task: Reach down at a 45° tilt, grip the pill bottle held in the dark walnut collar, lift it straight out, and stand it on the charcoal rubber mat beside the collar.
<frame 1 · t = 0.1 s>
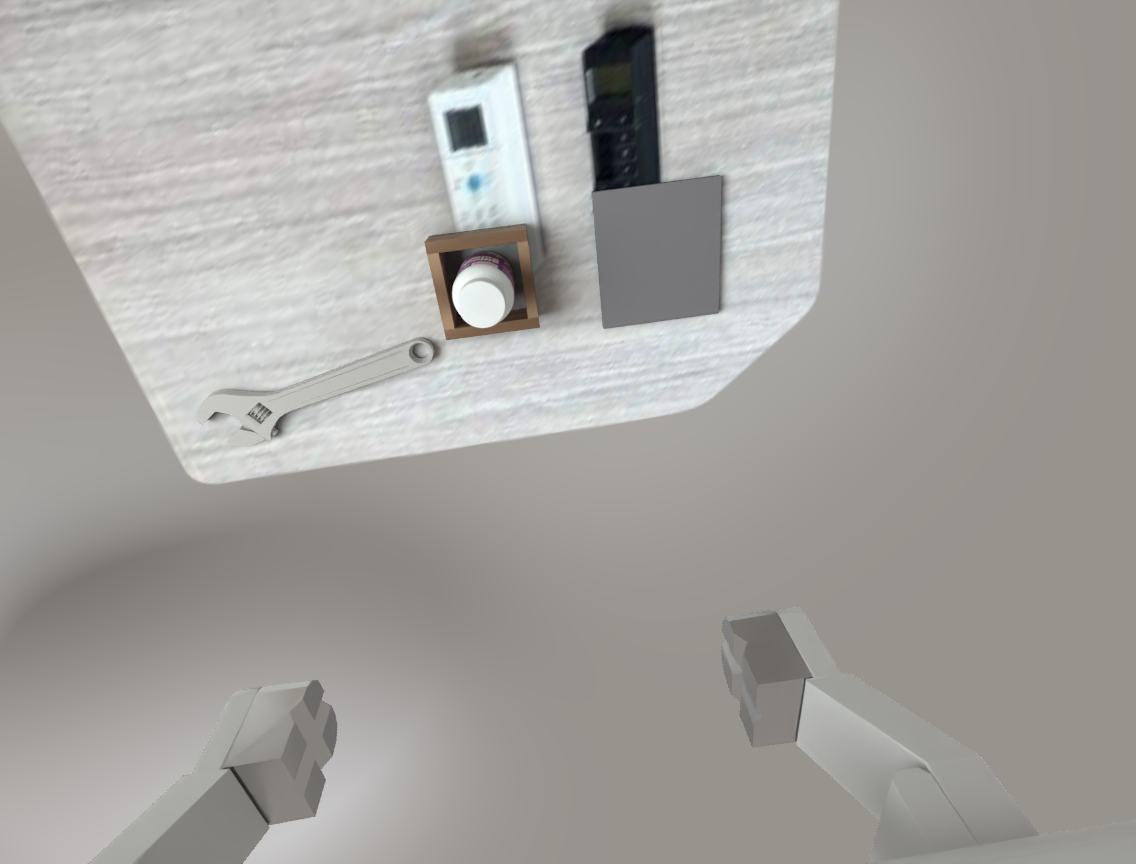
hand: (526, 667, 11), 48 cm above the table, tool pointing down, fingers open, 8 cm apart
charcoal mat: (658, 255, 55), on the table
pill bottle: (486, 277, 55), resting in walnut collar
walnut collar: (486, 278, 55), on the table
adjustable wrench: (323, 390, 59), on the table
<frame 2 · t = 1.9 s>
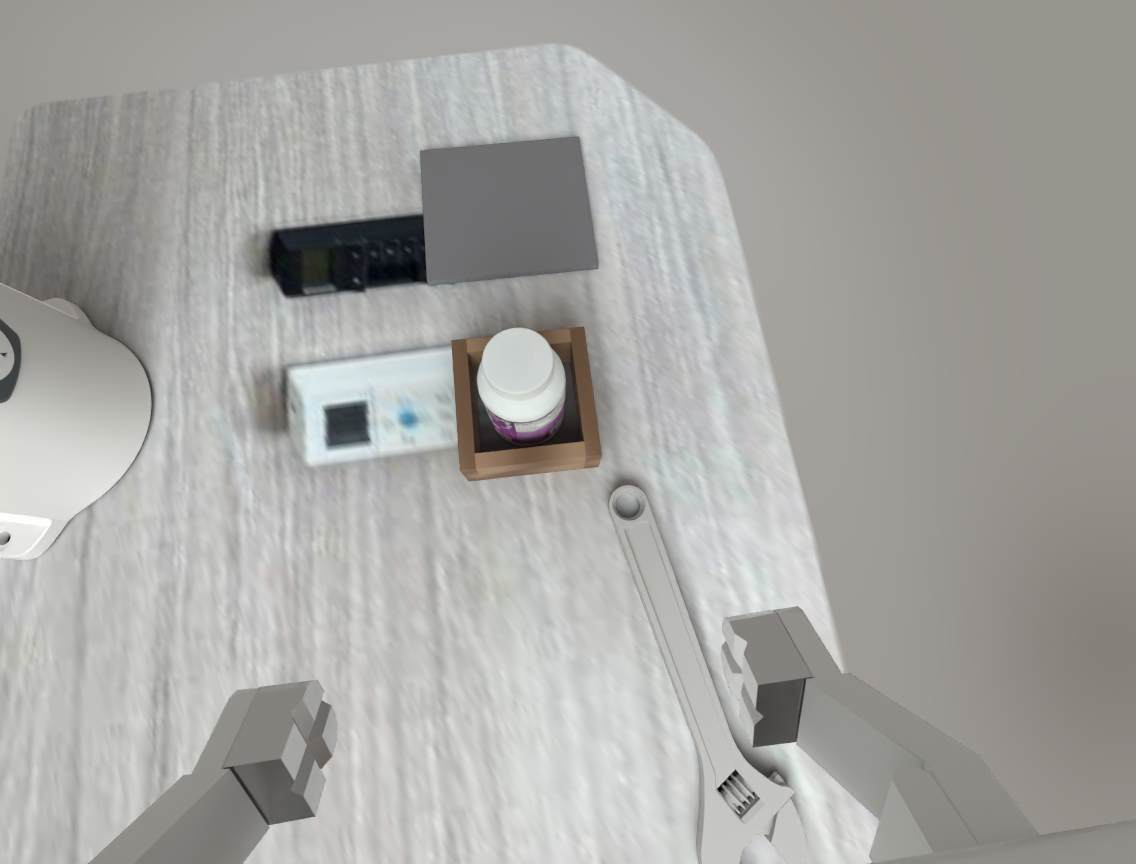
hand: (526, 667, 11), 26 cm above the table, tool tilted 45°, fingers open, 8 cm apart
charcoal mat: (507, 210, 45), on the table
pill bottle: (527, 413, 40), resting in walnut collar
walnut collar: (527, 412, 40), on the table
adjustable wrench: (697, 675, 36), on the table
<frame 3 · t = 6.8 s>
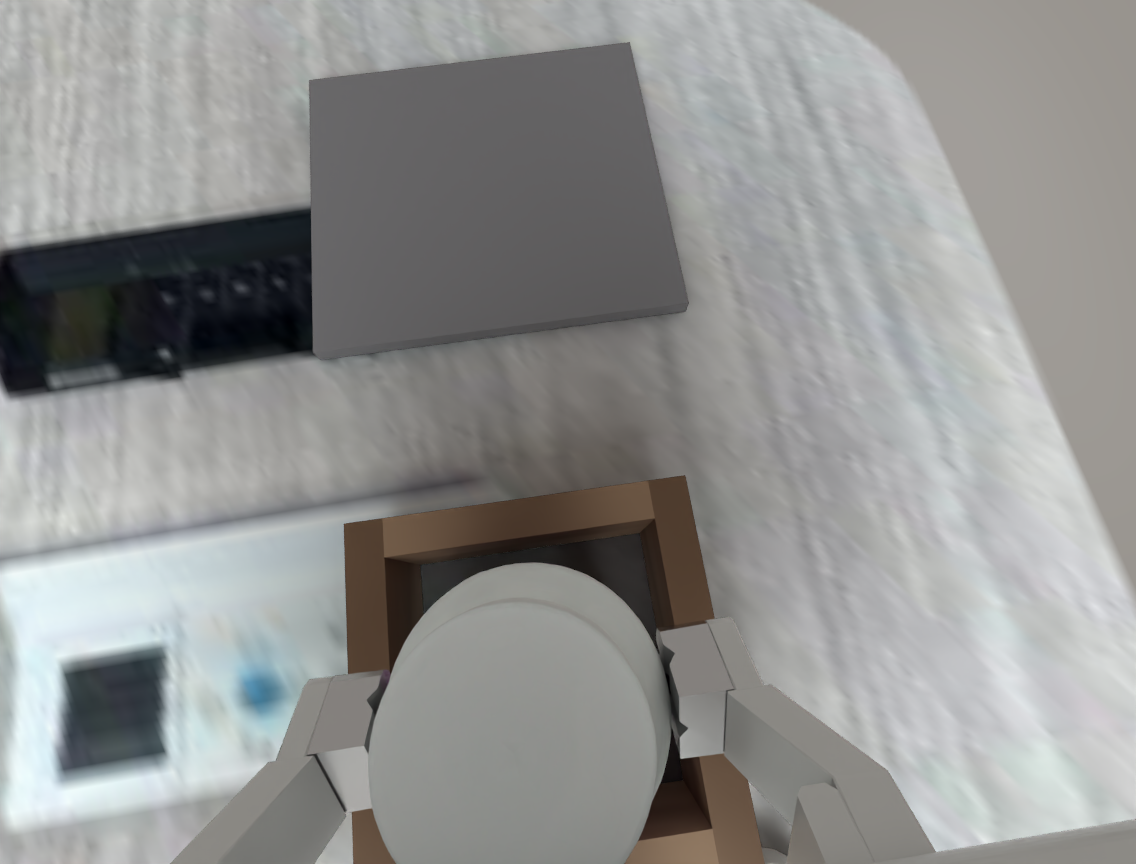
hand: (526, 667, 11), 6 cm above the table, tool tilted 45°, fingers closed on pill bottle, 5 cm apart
charcoal mat: (487, 194, 22), on the table
pill bottle: (545, 665, 17), resting in walnut collar, touching gripper
walnut collar: (544, 666, 17), on the table
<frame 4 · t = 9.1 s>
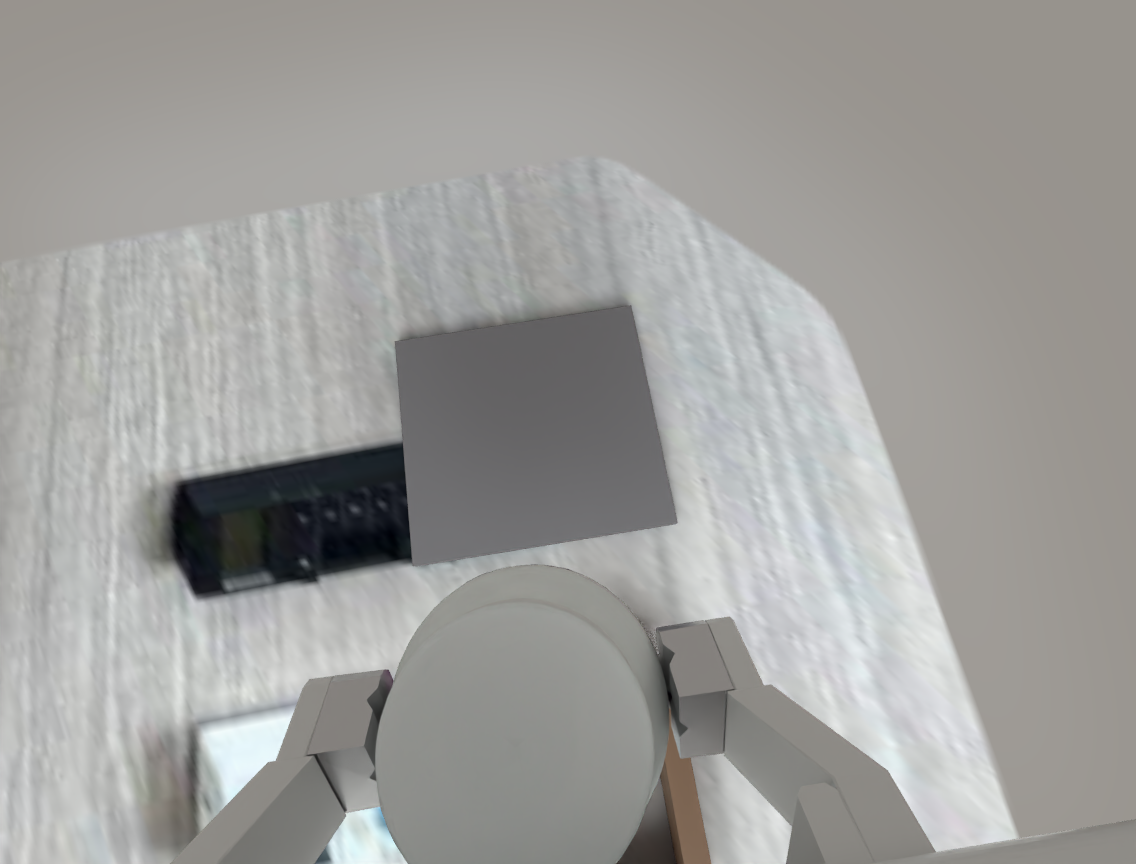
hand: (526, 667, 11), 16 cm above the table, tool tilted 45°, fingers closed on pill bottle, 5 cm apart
charcoal mat: (529, 430, 30), on the table
pill bottle: (546, 667, 17), point 10 cm above the table, touching gripper
walnut collar: (583, 795, 25), on the table
when the fingers open (8 cm above the table, at t = 11.8 s): pill bottle stays where it is, resting on charcoal mat.
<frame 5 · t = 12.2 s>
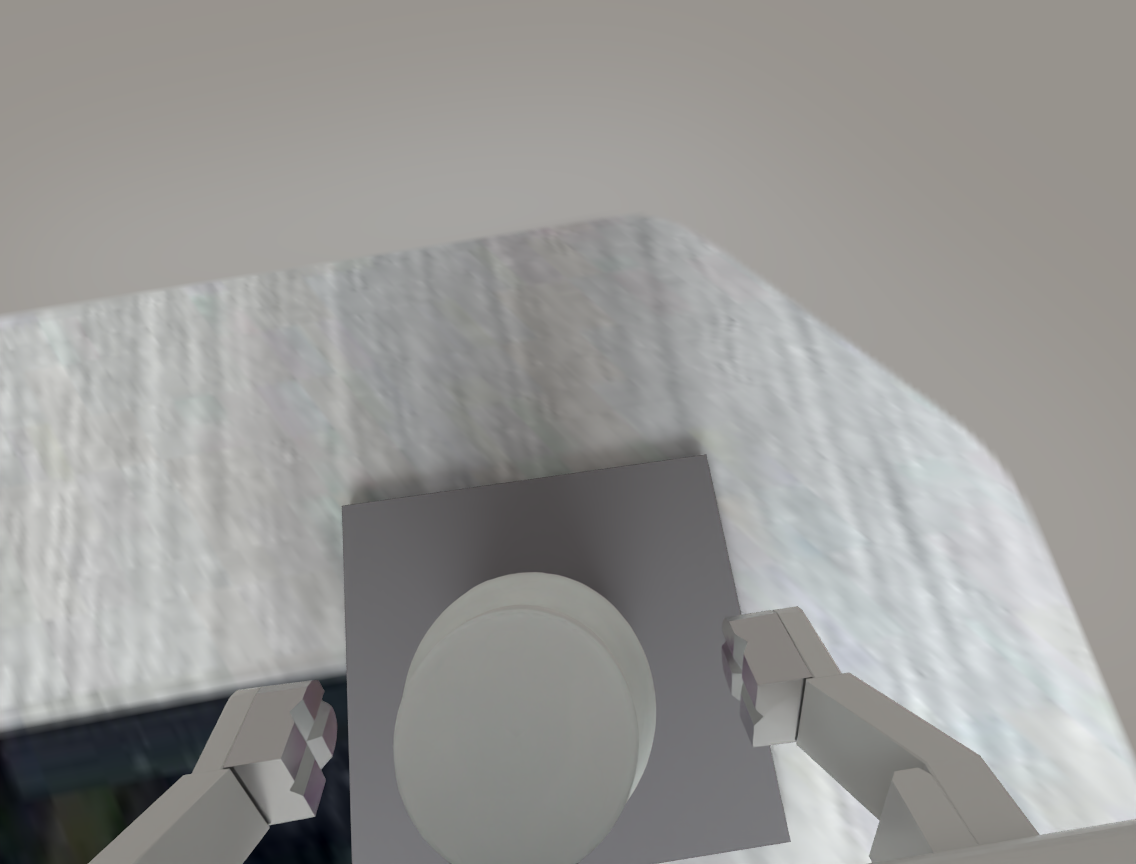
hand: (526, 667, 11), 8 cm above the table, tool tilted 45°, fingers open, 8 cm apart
charcoal mat: (548, 658, 19), on the table
pill bottle: (545, 664, 18), resting on charcoal mat
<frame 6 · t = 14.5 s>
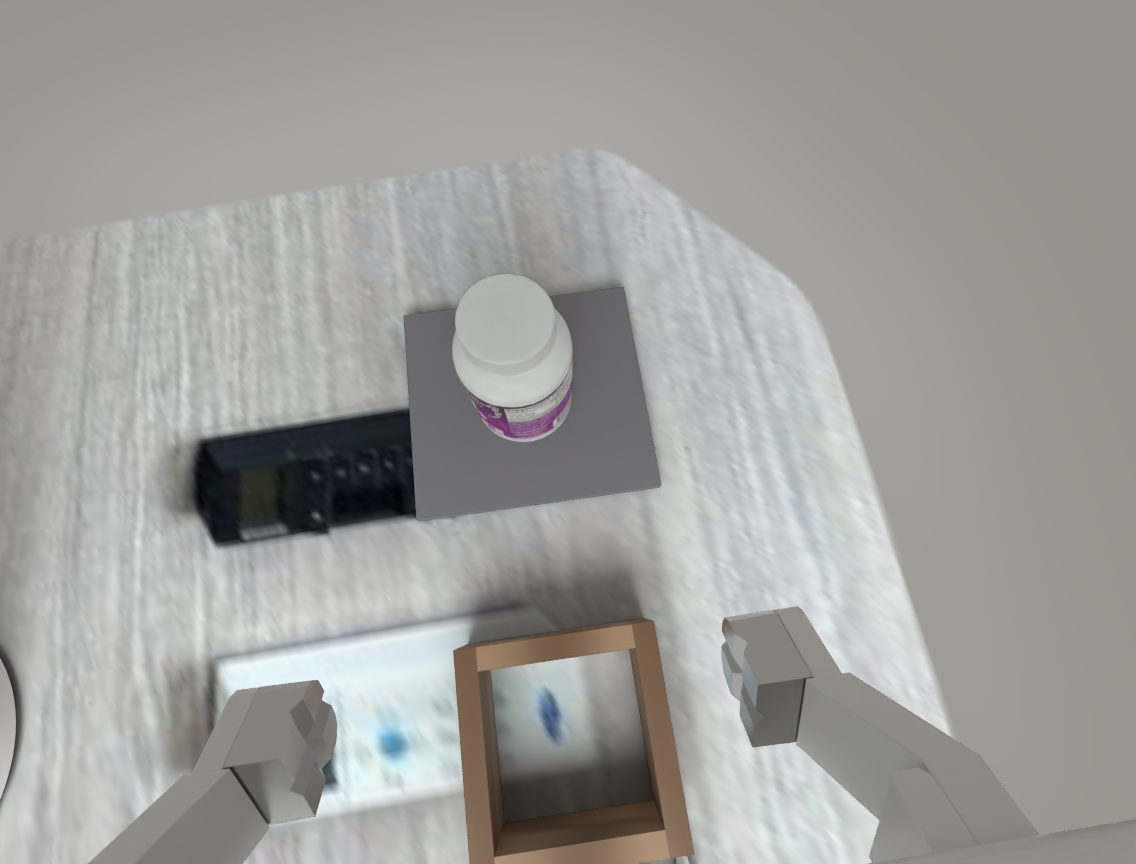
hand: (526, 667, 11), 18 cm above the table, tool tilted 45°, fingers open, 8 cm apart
charcoal mat: (527, 399, 32), on the table
pill bottle: (524, 400, 31), resting on charcoal mat
walnut collar: (568, 729, 27), on the table
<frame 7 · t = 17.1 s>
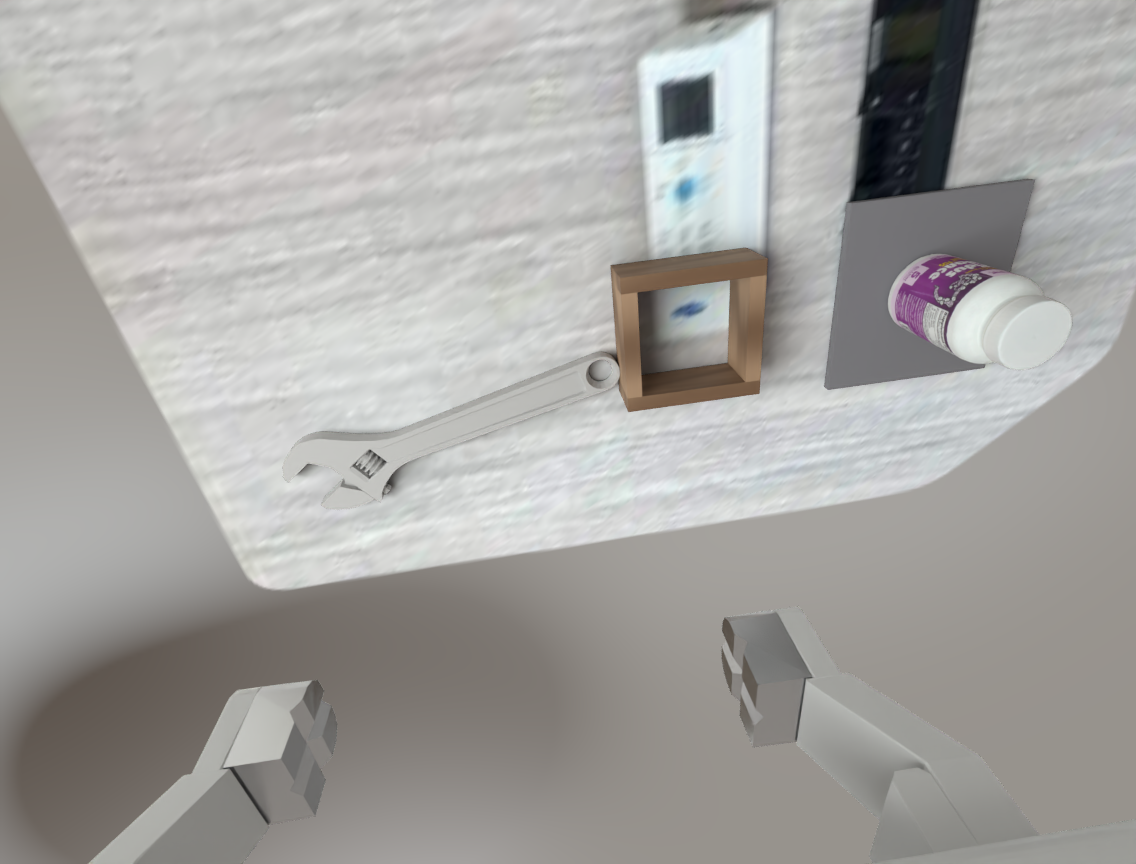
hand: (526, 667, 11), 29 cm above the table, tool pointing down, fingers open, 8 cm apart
charcoal mat: (918, 290, 39), on the table
pill bottle: (920, 290, 39), resting on charcoal mat
walnut collar: (679, 322, 39), on the table
adjustable wrench: (455, 428, 42), on the table
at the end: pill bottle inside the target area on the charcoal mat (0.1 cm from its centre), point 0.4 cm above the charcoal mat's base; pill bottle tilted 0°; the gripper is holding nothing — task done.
